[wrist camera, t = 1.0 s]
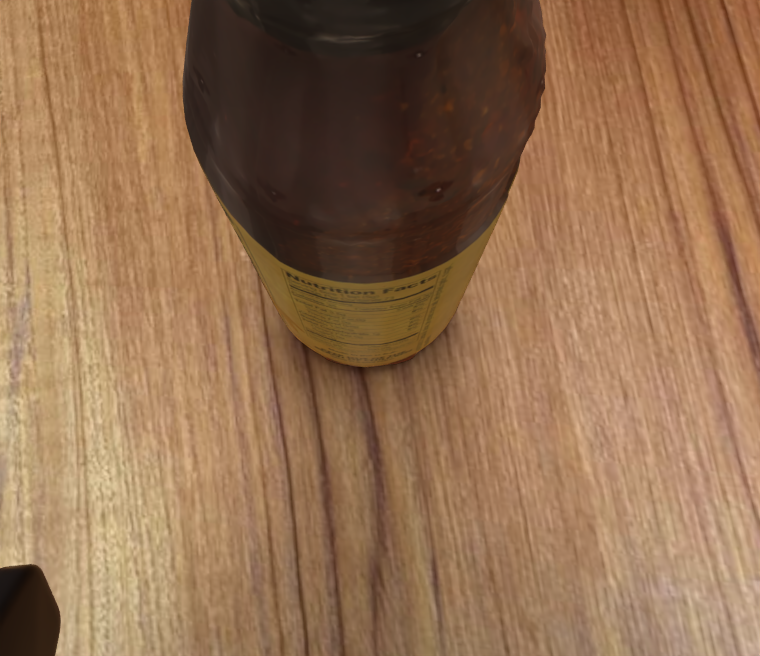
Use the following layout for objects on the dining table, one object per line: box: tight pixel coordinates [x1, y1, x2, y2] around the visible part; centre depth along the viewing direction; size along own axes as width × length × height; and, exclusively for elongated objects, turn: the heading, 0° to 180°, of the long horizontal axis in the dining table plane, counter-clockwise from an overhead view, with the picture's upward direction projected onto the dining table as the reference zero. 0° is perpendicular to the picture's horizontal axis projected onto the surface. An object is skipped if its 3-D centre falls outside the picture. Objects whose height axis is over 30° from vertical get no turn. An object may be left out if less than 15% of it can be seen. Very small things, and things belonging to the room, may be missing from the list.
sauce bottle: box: [183, 0, 546, 367], centre depth 14 cm, size 6×6×20 cm
